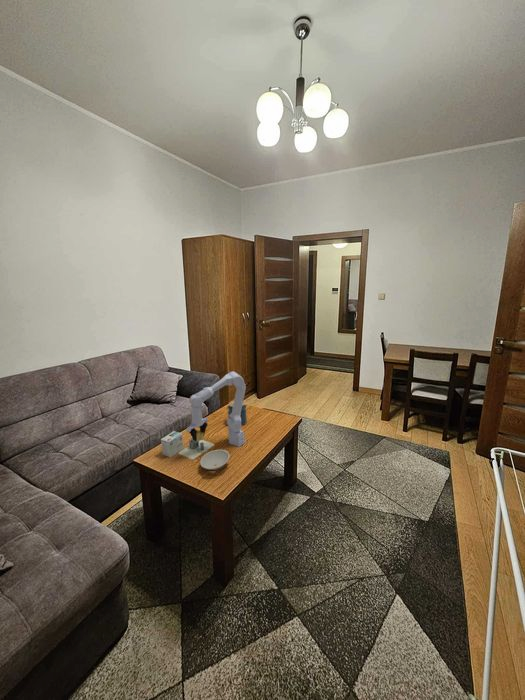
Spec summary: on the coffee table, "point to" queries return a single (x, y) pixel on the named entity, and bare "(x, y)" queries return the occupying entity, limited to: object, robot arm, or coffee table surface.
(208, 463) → the dish
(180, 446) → the light bulb box
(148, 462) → the coffee table surface
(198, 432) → the gear
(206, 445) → the gear board
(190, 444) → the gear
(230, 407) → the canister
